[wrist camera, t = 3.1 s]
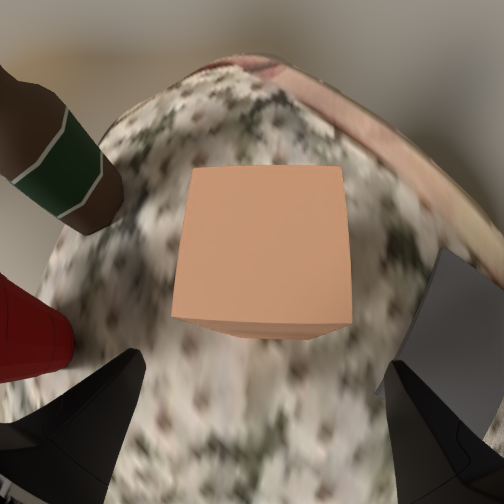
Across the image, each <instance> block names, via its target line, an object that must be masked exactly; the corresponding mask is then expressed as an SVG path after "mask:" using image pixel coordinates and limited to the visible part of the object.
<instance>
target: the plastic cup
mask: <svg viewBox="0 0 504 504" xmlns="http://www.w3.org/2000/svg"><path fill="white" fill-rule="evenodd" d="M73 351H74V334H73V331H72V327H71V324H70V323H69V321H68V320H67V318H66V317H65V316H63V315H62V314H61V313H60V312H58V311H56V310H55V309H53V308H51V307H49V306H47V305H46V304H45V303H43V302H42V301H40V300H39V299H37V298H35V297H34V296H32V295H31V294H29V293H27V292H26V291H24V290H23V289H21V288H20V287H18V286H17V285H15V284H14V283H12V282H11V281H10V280H8V279H7V278H6V277H5V276H4V275H2V274H1V273H0V383H6V382H12V381H17V380H22V379H27V378H32V377H37V376H39V375H41V374H46V373H51V372H56V371H58V370H60V369H62V368H64V367H66V366H67V365H68V363H69V362H70V360H71V359H72V355H73Z"/></svg>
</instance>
